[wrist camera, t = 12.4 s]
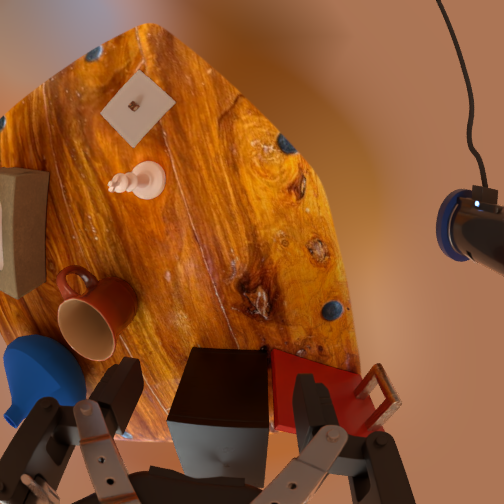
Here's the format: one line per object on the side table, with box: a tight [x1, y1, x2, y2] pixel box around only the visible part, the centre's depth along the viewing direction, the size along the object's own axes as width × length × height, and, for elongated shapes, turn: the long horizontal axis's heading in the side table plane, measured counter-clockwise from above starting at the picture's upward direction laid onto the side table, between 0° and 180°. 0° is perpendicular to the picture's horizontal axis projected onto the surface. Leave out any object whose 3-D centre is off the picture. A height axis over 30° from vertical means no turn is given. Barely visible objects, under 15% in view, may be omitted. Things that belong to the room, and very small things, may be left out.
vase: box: [3, 334, 86, 428], centre depth 33 cm, size 18×18×19 cm
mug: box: [57, 265, 138, 361], centre depth 33 cm, size 12×9×10 cm
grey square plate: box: [100, 70, 176, 148], centre depth 30 cm, size 8×8×2 cm
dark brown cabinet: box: [166, 347, 269, 488], centre depth 35 cm, size 11×16×15 cm
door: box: [271, 348, 402, 437], centre depth 32 cm, size 7×16×15 cm, turn 66°
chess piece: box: [108, 161, 166, 199], centre depth 29 cm, size 5×5×10 cm
